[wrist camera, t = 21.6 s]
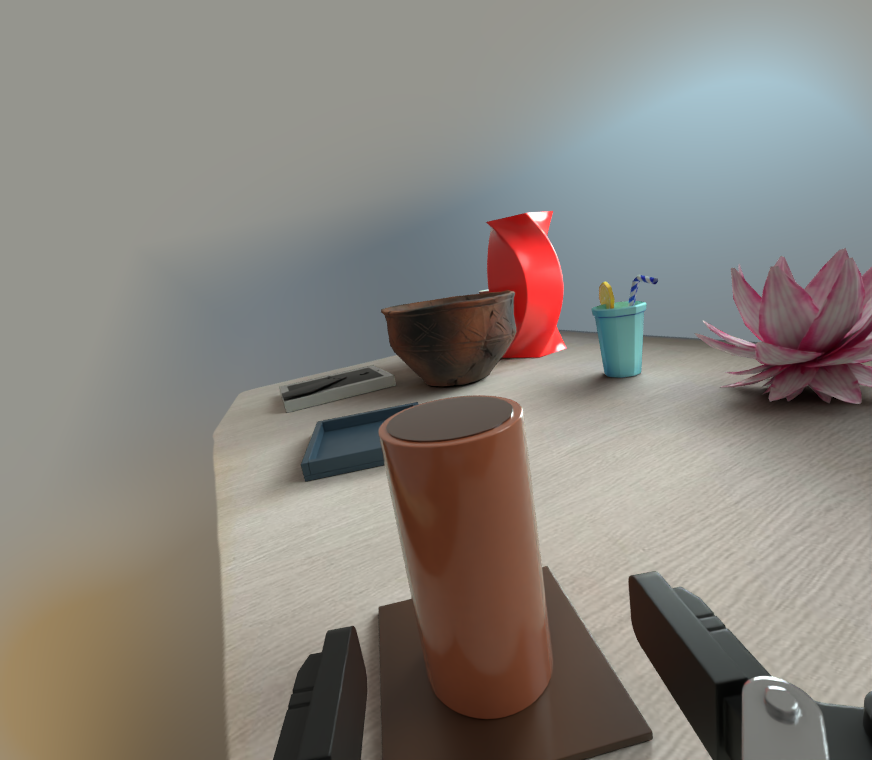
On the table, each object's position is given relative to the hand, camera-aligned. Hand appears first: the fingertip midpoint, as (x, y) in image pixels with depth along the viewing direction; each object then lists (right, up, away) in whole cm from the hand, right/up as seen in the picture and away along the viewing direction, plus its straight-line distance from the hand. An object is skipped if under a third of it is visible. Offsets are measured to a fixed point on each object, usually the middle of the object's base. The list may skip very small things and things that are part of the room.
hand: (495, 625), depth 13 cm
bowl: (+3, +7, +71) cm, 72 cm away
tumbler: (+1, -7, +10) cm, 12 cm away
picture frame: (-22, +5, +77) cm, 81 cm away
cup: (+28, +8, +56) cm, 63 cm away
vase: (+19, +13, +85) cm, 88 cm away
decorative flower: (+41, +5, +38) cm, 56 cm away
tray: (-10, -1, +44) cm, 45 cm away
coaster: (+1, -7, +10) cm, 13 cm away
